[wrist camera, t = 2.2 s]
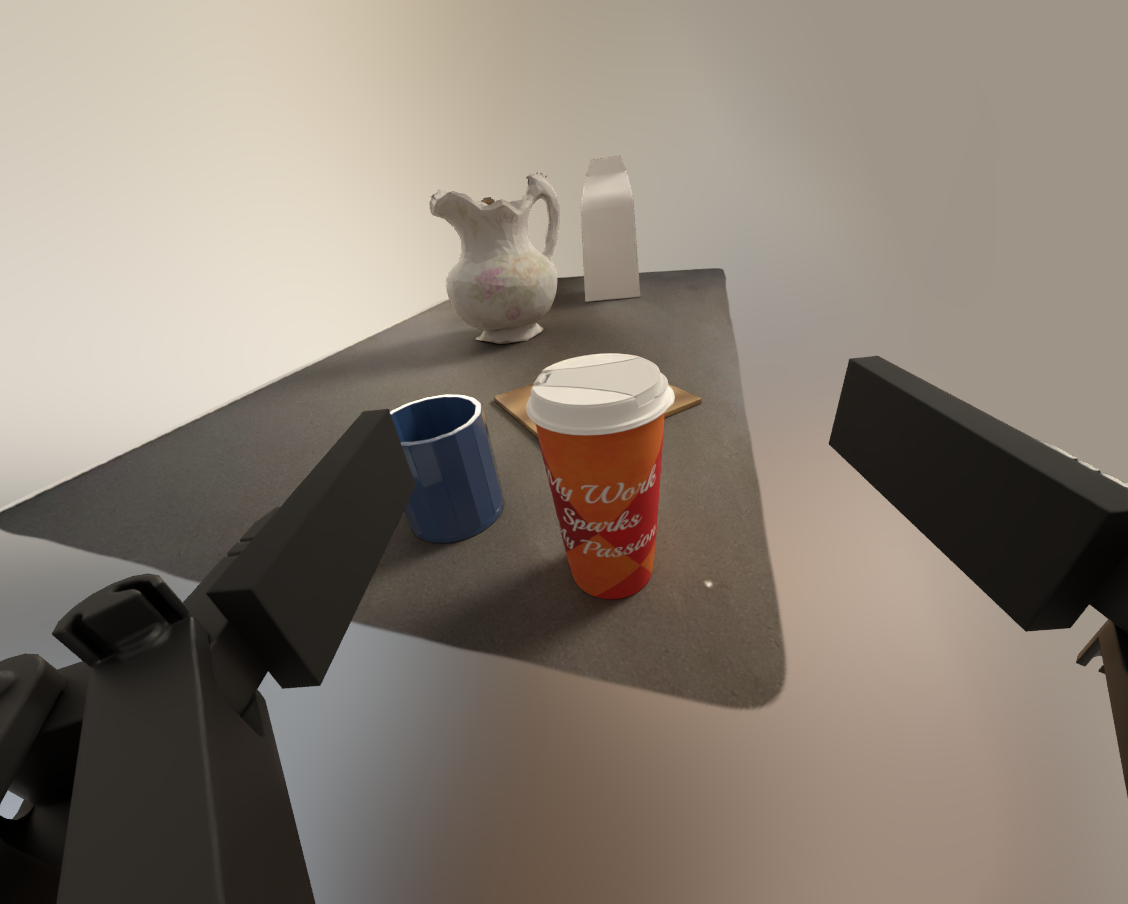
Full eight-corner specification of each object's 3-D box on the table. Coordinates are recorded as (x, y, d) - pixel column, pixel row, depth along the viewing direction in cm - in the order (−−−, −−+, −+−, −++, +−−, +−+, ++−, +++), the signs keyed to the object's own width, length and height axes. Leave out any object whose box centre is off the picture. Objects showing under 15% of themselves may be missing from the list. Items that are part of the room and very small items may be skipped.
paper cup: (544, 607, 27) (502, 410, 20) (567, 525, 34) (542, 353, 26) (671, 620, 26) (676, 408, 18) (671, 531, 32) (674, 346, 25)
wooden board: (701, 403, 48) (701, 398, 48) (562, 459, 42) (562, 454, 42) (609, 362, 62) (609, 358, 62) (494, 400, 56) (493, 396, 55)
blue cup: (519, 515, 35) (497, 418, 31) (423, 558, 32) (383, 458, 28) (485, 472, 42) (462, 386, 37) (402, 505, 39) (366, 415, 34)
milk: (585, 301, 96) (572, 161, 82) (589, 290, 105) (578, 162, 92) (640, 296, 94) (636, 151, 80) (638, 285, 103) (635, 154, 90)
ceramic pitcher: (537, 317, 93) (511, 184, 82) (597, 322, 79) (576, 161, 67) (446, 346, 83) (401, 198, 71) (496, 359, 68) (451, 176, 57)
